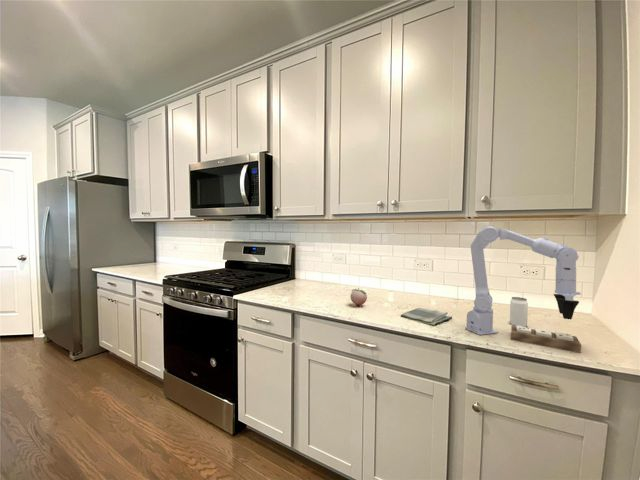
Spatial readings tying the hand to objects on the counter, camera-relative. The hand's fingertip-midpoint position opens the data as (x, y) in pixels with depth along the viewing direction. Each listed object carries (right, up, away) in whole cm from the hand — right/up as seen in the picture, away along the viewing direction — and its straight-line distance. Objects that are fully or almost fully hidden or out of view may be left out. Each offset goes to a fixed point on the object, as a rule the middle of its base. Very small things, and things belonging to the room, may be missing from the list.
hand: (565, 316), depth 103 cm
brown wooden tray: (-6, -11, +3) cm, 13 cm away
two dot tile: (-1, -11, 0) cm, 11 cm away
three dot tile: (-11, -10, +7) cm, 16 cm away
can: (-1, -10, +22) cm, 25 cm away
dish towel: (-39, -10, +32) cm, 51 cm away
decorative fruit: (-70, -9, +51) cm, 87 cm away
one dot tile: (-6, -11, +3) cm, 13 cm away
